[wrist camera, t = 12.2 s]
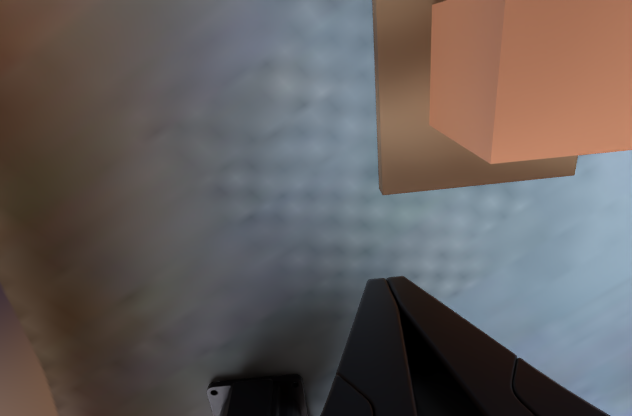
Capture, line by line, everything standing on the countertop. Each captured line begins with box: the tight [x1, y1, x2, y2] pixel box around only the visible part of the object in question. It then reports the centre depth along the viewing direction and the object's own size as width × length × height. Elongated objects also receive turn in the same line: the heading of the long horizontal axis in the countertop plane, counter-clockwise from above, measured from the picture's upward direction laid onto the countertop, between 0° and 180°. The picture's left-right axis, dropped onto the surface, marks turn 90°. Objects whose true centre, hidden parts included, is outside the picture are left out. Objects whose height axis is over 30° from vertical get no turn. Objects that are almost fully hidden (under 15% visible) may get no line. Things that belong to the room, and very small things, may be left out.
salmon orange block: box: [429, 0, 632, 164], centre depth 14 cm, size 5×5×7 cm
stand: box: [372, 0, 578, 195], centre depth 15 cm, size 12×10×7 cm
